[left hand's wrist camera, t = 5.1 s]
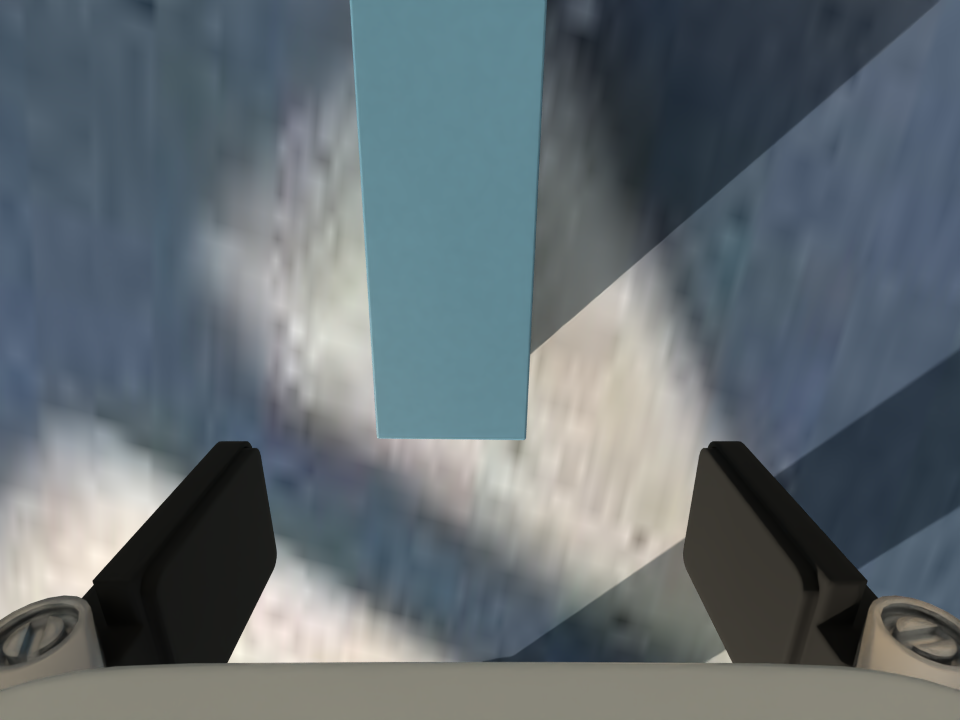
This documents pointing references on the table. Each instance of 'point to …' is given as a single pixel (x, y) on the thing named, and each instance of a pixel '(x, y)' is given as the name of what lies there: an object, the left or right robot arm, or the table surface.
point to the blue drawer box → (449, 209)
